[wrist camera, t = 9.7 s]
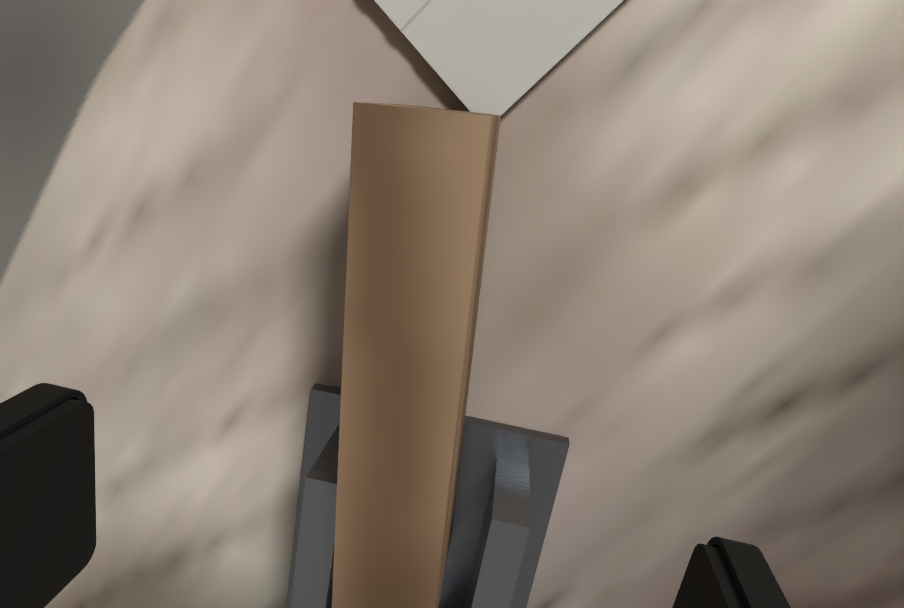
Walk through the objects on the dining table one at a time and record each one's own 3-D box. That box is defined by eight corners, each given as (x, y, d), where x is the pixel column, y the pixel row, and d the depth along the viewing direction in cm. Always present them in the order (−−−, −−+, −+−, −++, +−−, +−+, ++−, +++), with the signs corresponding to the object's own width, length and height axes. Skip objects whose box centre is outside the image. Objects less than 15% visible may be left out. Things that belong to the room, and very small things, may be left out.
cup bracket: (568, 437, 27) (577, 503, 22) (507, 669, 31) (504, 765, 27) (315, 383, 28) (272, 435, 23) (288, 616, 32) (247, 701, 27)
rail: (500, 114, 22) (491, 116, 17) (449, 545, 29) (429, 651, 23) (397, 104, 23) (353, 102, 17) (369, 531, 29) (330, 632, 24)
